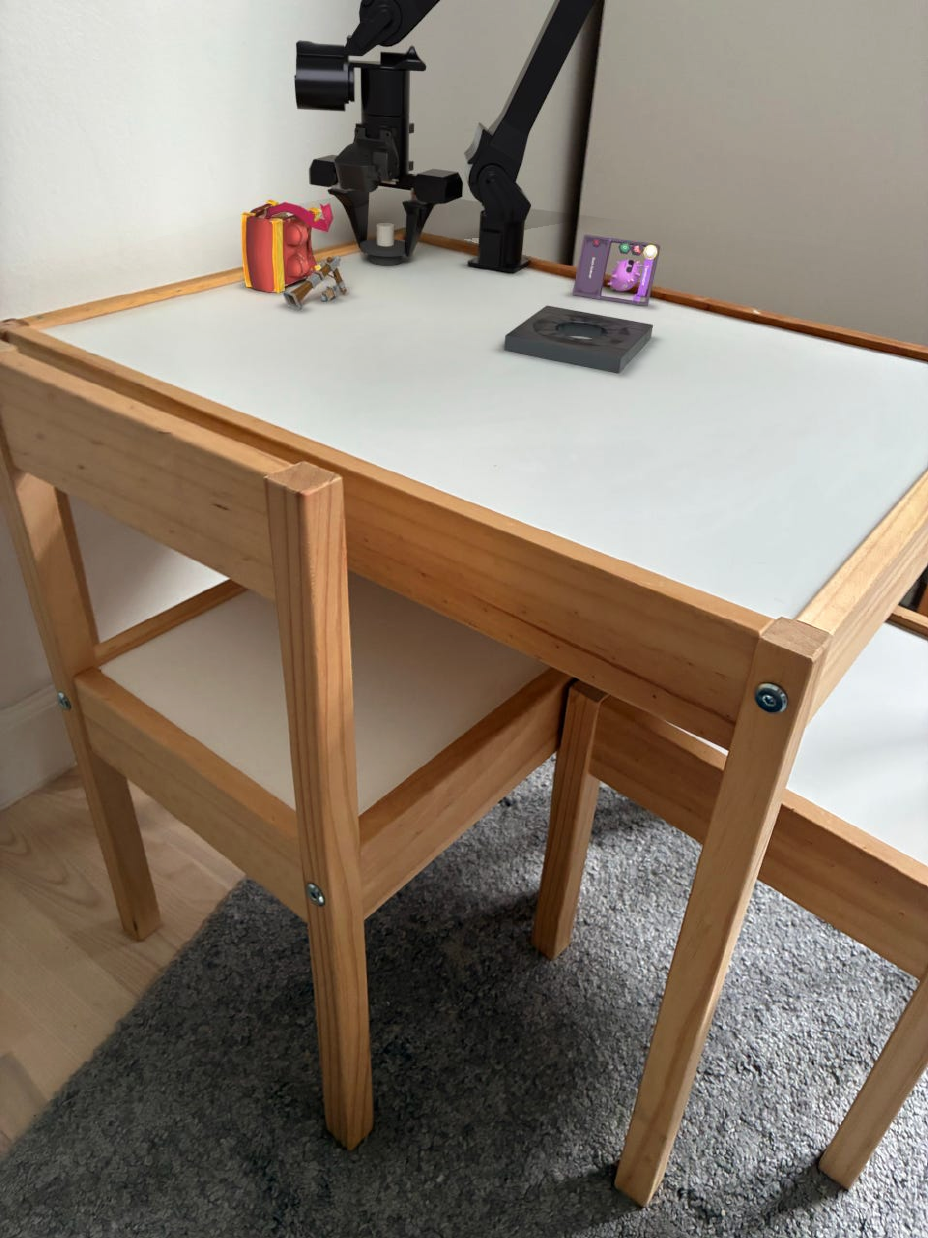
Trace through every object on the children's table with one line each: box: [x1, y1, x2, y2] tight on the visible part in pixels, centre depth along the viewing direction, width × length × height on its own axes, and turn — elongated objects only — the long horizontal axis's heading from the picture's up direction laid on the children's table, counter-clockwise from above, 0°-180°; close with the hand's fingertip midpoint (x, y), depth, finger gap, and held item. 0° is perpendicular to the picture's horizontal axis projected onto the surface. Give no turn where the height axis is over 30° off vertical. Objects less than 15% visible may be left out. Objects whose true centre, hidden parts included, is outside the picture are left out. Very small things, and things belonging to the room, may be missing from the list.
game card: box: [572, 234, 661, 307], centre depth 106 cm, size 7×5×9 cm
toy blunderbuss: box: [281, 255, 348, 311], centre depth 99 cm, size 2×8×4 cm, turn 138°
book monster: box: [240, 199, 334, 294], centre depth 101 cm, size 11×9×12 cm
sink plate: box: [503, 305, 654, 374], centre depth 92 cm, size 12×12×2 cm
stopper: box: [359, 222, 405, 266], centre depth 114 cm, size 6×6×4 cm
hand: (385, 252), depth 115 cm, fingers closed on stopper, 6 cm apart
